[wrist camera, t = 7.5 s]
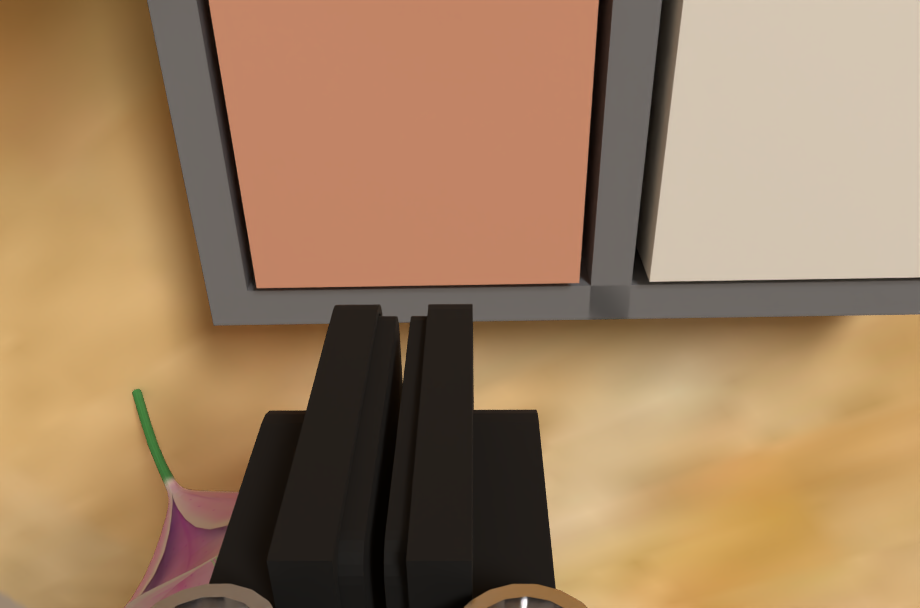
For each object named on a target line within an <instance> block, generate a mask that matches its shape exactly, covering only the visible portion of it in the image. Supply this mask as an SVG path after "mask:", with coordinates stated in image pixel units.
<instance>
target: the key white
mask: <svg viewBox="0 0 920 608" xmlns="http://www.w3.org/2000/svg"><path fill="white" fill-rule="evenodd" d="M636 247H637V250H638V253H639V255H640V258H641V261H642V263H643V266H644V268H645V271H646V274H647V276H648V279H649V282H663V281H726V280H789V279H852V278H914V277H920V0H662V5H661V14H660V24H659V33H658V42H657V52H656V61H655V70H654V79H653V89H652V98H651V107H650V116H649V126H648V135H647V144H646V154H645V163H644V172H643V181H642V191H641V200H640V209H639V219H638V228H637V237H636Z"/></svg>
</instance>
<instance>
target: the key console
mask: <svg viewBox="0 0 920 608" xmlns="http://www.w3.org/2000/svg"><path fill="white" fill-rule="evenodd" d="M147 2H148V7H149V12H150V17H151V22H152V26H153V31H154V36H155V41H156V46H157V51H158V56H159V61H160V65H161V70H162V75H163V80H164V85H165V90H166V95H167V100H168V105H169V109H170V114H171V119H172V124H173V129H174V134H175V139H176V144H177V148H178V153H179V158H180V163H181V168H182V173H183V178H184V183H185V188H186V192H187V197H188V202H189V207H190V212H191V217H192V222H193V227H194V232H195V236H196V241H197V246H198V251H199V256H200V261H201V266H202V271H203V275H204V280H205V285H206V290H207V295H208V300H209V305H210V310H211V315H212V319H213V324H214V325H274V324H329V323H330V319H331V316H332V312H333V309H334V306H335V305H374V304H380V306H381V309H382V316H397V317H398V321H399V323H401V322H410V319H411V316H427V313H428V305H429V304H473V321H527V320H591V319H654V318H718V317H781V316H844V315H908V314H920V277H914V278H852V279H789V280H726V281H663V282H649V279H648V276H647V274H646V271H645V268H644V266H643V263H642V261H641V258H640V255H639V253H638V250H637V247H636V237H637V228H638V219H639V209H640V200H641V191H642V181H643V172H644V163H645V154H646V144H647V135H648V126H649V116H650V107H651V98H652V89H653V79H654V70H655V61H656V52H657V42H658V33H659V24H660V14H661V5H662V0H599V5H598V19H597V33H596V48H595V62H594V77H593V91H592V105H591V120H590V134H589V149H588V163H587V177H586V192H585V206H584V221H583V235H582V249H581V264H580V278H579V283H551V284H488V285H425V286H362V287H300V288H257V287H256V281H255V275H254V269H253V263H252V257H251V251H250V245H249V239H248V233H247V227H246V221H245V215H244V209H243V203H242V197H241V191H240V185H239V179H238V173H237V167H236V161H235V155H234V149H233V143H232V137H231V131H230V125H229V119H228V113H227V107H226V101H225V95H224V89H223V84H222V78H221V72H220V66H219V60H218V54H217V48H216V42H215V36H214V30H213V24H212V18H211V12H210V6H209V0H147Z"/></svg>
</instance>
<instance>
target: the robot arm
mask: <svg viewBox="0 0 920 608" xmlns="http://www.w3.org/2000/svg"><path fill="white" fill-rule="evenodd" d="M151 608H587V607H586V606H585V605H584V604H583V603H582V602H581V601H579V600H577V599H575V598H573V597H572V596H570V595H568V594H566V593H565V592H563V591H561V590H558V589H556V588H555V578H554V568H553V558H552V548H551V538H550V528H549V519H548V509H547V499H546V489H545V479H544V469H543V459H542V449H541V439H540V430H539V420H538V413H537V410H474V394H473V304H429V305H428V313H427V316H411V319H410V327H409V336H408V344H407V353H406V361H405V370H404V378H403V381H402V365H401V349H400V333H399V321H398V317H397V316H382V309H381V306H380V304H374V305H335V306H334V309H333V312H332V316H331V319H330V323H329V327H328V331H327V334H326V338H325V342H324V346H323V349H322V353H321V357H320V361H319V365H318V368H317V372H316V376H315V380H314V383H313V387H312V391H311V395H310V398H309V402H308V406H307V410H306V411H269V412H268V413H267V414H266V415H265V417H264V419H263V421H262V424H261V427H260V430H259V433H258V436H257V439H256V442H255V445H254V448H253V451H252V454H251V457H250V460H249V463H248V466H247V469H246V472H245V475H244V478H243V481H242V484H241V487H240V491H239V494H238V497H237V500H236V503H235V506H234V509H233V512H232V515H231V518H230V521H229V524H228V527H227V530H226V533H225V536H224V539H223V542H222V545H221V548H220V551H219V554H218V557H217V560H216V563H215V566H214V569H213V572H212V576H211V579H210V582H209V584H204V585H200V586H196V587H192V588H188V589H184V590H181V591H179V592H177V593H175V594H173V595H171V596H169V597H167V598H165V599H163V600H160V601H158V602H157V603H156V604H154V605H153V606H152V607H151Z"/></svg>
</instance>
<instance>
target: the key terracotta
mask: <svg viewBox="0 0 920 608" xmlns="http://www.w3.org/2000/svg"><path fill="white" fill-rule="evenodd" d="M598 5H599V0H209V6H210V12H211V18H212V24H213V30H214V36H215V42H216V48H217V54H218V60H219V66H220V72H221V78H222V84H223V89H224V95H225V101H226V107H227V113H228V119H229V125H230V131H231V137H232V143H233V149H234V155H235V161H236V167H237V173H238V179H239V185H240V191H241V197H242V203H243V209H244V215H245V221H246V227H247V233H248V239H249V245H250V251H251V257H252V263H253V269H254V275H255V281H256V287H257V288H300V287H362V286H425V285H488V284H551V283H579V278H580V264H581V249H582V235H583V221H584V206H585V192H586V177H587V163H588V149H589V134H590V120H591V105H592V91H593V77H594V62H595V48H596V33H597V19H598Z"/></svg>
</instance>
